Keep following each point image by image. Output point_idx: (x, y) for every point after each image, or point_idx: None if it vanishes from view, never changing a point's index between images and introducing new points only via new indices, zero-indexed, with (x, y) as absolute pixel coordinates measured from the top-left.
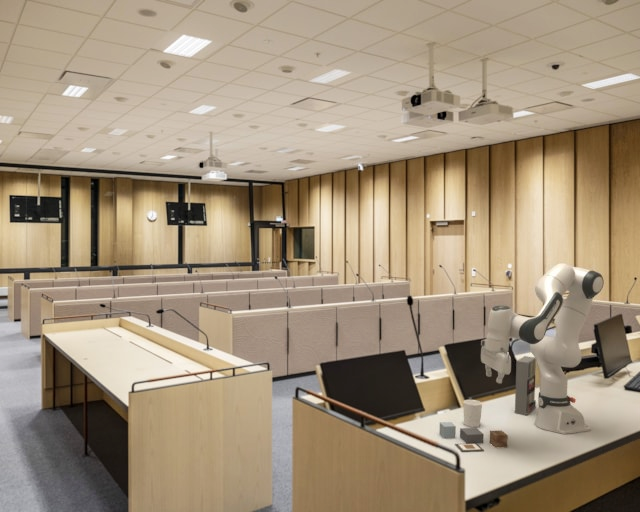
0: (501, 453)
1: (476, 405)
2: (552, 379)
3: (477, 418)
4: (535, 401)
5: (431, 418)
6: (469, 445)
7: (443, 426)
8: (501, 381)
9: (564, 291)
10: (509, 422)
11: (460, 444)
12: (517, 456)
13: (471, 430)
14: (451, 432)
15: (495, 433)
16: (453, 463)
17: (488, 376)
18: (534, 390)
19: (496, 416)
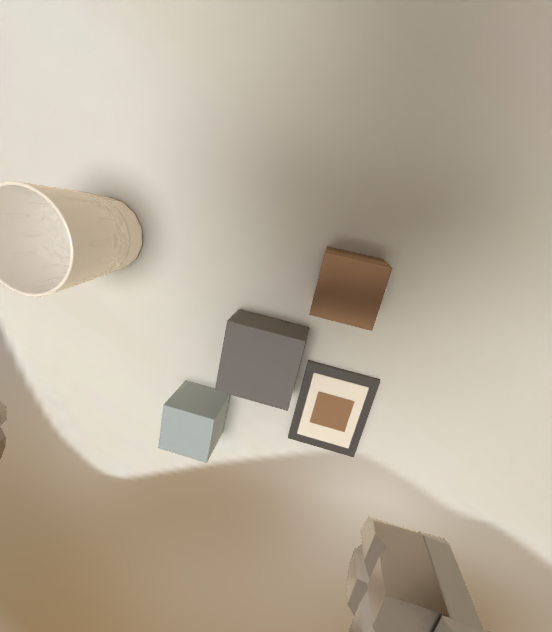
0: (426, 329)
1: (74, 254)
2: None
3: (121, 235)
4: None
5: (30, 351)
6: (322, 405)
7: (201, 460)
8: (454, 576)
9: None
10: (108, 2)
11: (300, 425)
12: (484, 286)
13: (250, 362)
14: (220, 420)
15: (349, 312)
16: None
17: (3, 444)
18: None
19: (20, 19)
